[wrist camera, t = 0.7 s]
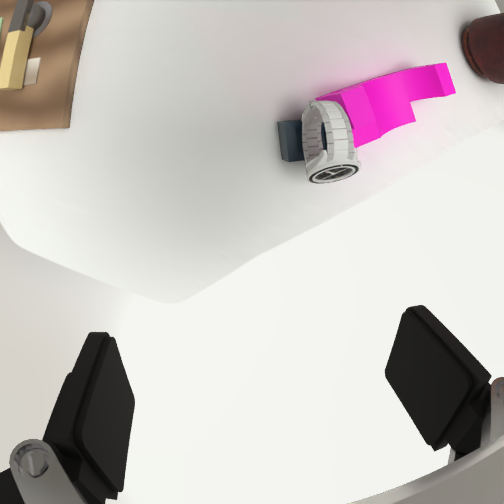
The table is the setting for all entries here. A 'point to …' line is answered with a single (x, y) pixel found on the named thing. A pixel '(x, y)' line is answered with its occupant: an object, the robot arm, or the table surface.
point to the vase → (486, 46)
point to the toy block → (389, 99)
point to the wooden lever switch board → (45, 66)
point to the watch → (320, 142)
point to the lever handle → (19, 43)
